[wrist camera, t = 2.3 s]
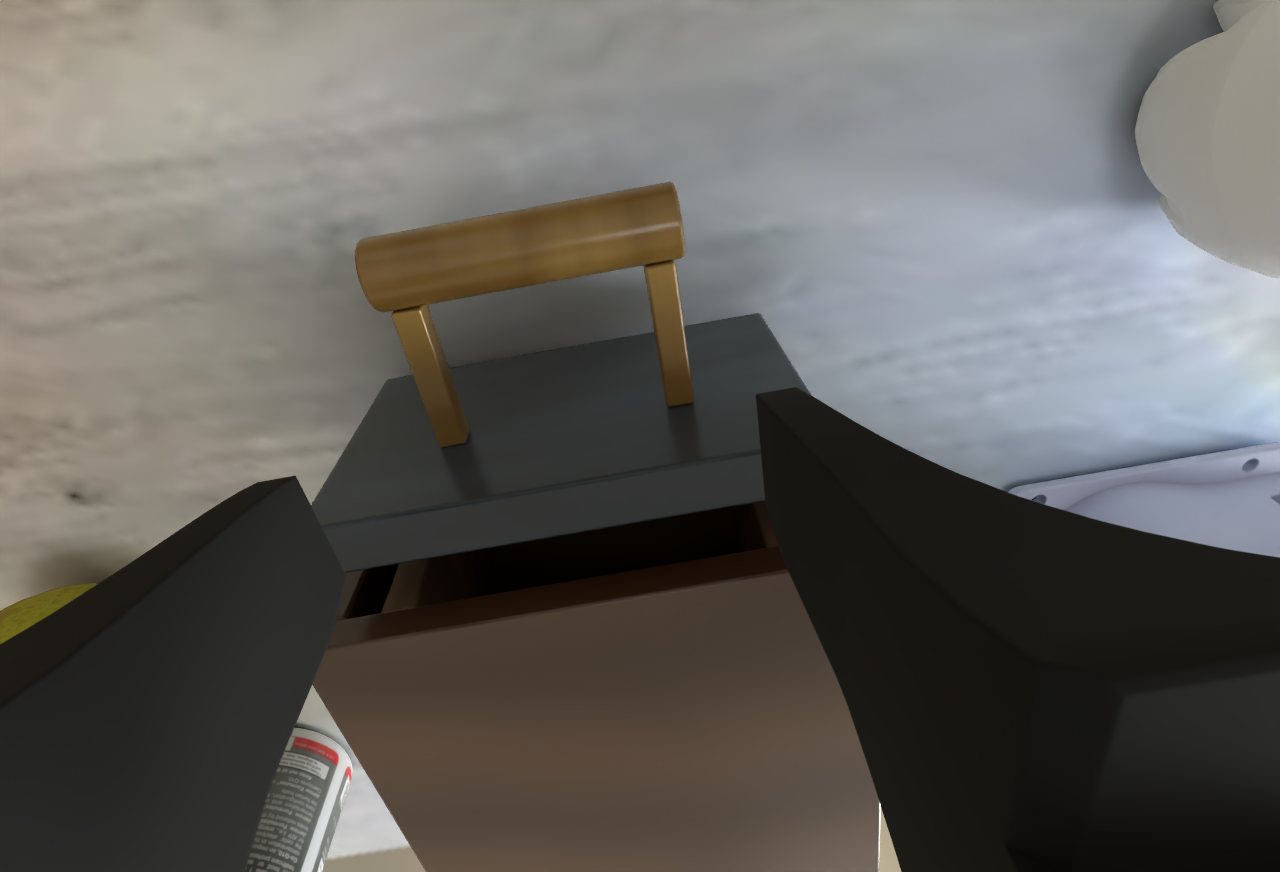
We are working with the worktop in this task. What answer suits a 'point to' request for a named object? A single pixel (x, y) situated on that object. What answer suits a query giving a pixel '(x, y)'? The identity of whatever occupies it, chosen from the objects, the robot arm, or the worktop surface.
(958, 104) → the worktop surface
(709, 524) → the drawer
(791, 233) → the worktop surface
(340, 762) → the pill bottle
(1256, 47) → the water bottle
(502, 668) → the cabinet
